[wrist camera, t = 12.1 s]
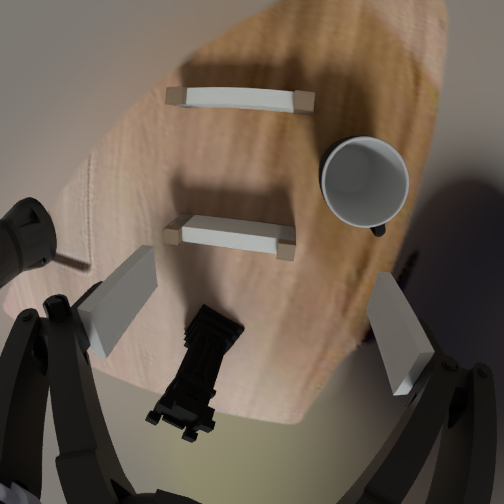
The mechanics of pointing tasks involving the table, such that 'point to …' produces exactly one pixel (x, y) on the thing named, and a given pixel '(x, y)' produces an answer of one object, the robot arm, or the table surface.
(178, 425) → the chess piece
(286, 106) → the chute
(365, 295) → the table surface
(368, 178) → the mug
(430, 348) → the robot arm
